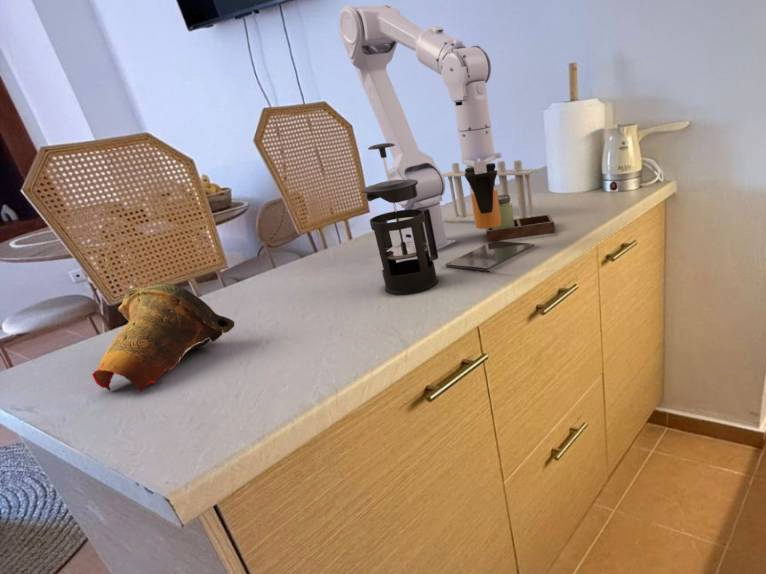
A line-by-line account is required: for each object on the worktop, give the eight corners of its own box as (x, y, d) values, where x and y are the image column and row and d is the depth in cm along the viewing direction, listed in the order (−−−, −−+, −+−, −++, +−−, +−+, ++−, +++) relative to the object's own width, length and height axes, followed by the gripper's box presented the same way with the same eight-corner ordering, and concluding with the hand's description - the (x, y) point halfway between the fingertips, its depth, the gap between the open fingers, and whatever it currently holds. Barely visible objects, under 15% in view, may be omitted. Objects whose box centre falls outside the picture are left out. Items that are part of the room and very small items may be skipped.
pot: (24, 341, 67) (116, 253, 79) (67, 397, 76) (145, 310, 87) (163, 373, 67) (235, 280, 79) (190, 425, 76) (251, 335, 88)
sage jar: (506, 239, 114) (501, 200, 110) (488, 237, 117) (482, 199, 113) (520, 232, 117) (515, 194, 113) (501, 231, 120) (497, 194, 116)
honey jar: (490, 229, 100) (484, 184, 96) (470, 228, 103) (463, 184, 99) (506, 222, 103) (501, 178, 99) (486, 221, 106) (480, 178, 102)
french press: (405, 299, 90) (371, 149, 79) (371, 291, 96) (334, 150, 85) (456, 276, 98) (431, 136, 87) (421, 270, 104) (394, 138, 92)
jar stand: (487, 244, 114) (486, 231, 113) (486, 235, 120) (485, 223, 119) (555, 235, 114) (554, 221, 113) (550, 226, 120) (549, 214, 119)
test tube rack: (447, 221, 137) (437, 165, 131) (458, 216, 140) (448, 161, 134) (532, 224, 124) (525, 162, 118) (542, 219, 127) (536, 158, 121)
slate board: (487, 272, 98) (487, 268, 97) (446, 267, 103) (445, 263, 103) (534, 247, 108) (534, 243, 107) (494, 244, 113) (494, 240, 113)
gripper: (499, 128, 89) (510, 214, 95) (495, 122, 101) (505, 198, 108) (456, 135, 89) (469, 220, 95) (457, 128, 101) (469, 203, 108)
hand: (486, 209), depth 102 cm, fingers closed on honey jar, 5 cm apart
